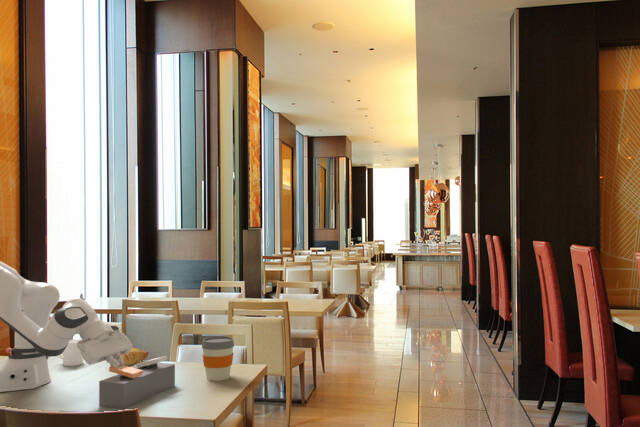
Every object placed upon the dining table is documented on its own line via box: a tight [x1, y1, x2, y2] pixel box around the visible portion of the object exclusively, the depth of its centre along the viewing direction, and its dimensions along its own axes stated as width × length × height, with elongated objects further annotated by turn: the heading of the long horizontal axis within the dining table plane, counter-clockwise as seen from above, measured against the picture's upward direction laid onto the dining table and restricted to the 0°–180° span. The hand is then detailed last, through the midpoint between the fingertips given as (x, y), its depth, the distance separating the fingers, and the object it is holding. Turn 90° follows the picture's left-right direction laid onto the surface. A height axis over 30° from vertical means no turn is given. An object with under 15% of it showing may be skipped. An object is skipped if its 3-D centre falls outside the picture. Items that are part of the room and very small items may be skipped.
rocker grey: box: [135, 355, 168, 368], centre depth 194 cm, size 10×5×2 cm, turn 71°
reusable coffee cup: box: [201, 336, 235, 382], centre depth 210 cm, size 13×13×15 cm
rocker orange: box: [108, 365, 143, 378], centre depth 181 cm, size 10×5×2 cm, turn 70°
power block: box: [98, 362, 176, 409], centre depth 188 cm, size 10×28×9 cm, turn 160°
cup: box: [58, 338, 84, 367], centre depth 236 cm, size 8×12×10 cm
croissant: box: [109, 347, 149, 367], centre depth 236 cm, size 21×10×8 cm, turn 154°
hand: (120, 366), depth 182 cm, fingers closed, pressing on rocker orange
